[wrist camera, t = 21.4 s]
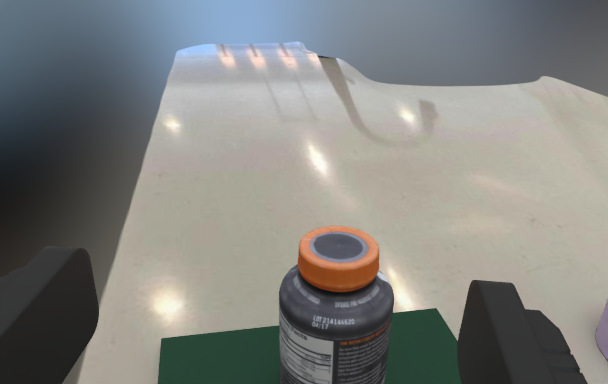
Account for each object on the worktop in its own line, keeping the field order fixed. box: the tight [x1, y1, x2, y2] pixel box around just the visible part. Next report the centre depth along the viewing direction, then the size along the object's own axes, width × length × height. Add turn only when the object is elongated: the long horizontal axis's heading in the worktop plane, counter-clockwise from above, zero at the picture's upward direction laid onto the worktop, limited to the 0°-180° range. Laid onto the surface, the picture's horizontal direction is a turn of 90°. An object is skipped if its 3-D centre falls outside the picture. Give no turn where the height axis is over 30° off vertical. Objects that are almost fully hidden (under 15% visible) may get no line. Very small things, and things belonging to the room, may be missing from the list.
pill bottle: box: [279, 226, 394, 384], centre depth 28 cm, size 6×6×11 cm
